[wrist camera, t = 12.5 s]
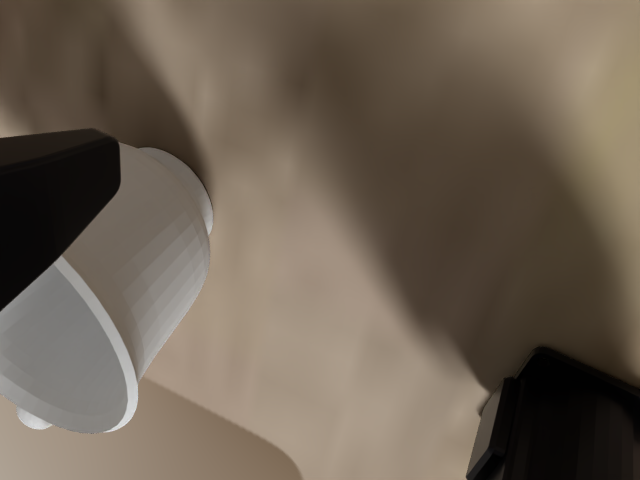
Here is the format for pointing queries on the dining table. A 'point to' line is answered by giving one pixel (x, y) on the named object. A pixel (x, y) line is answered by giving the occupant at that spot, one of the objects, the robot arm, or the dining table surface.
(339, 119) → the dining table surface
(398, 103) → the dining table surface
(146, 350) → the teacup
